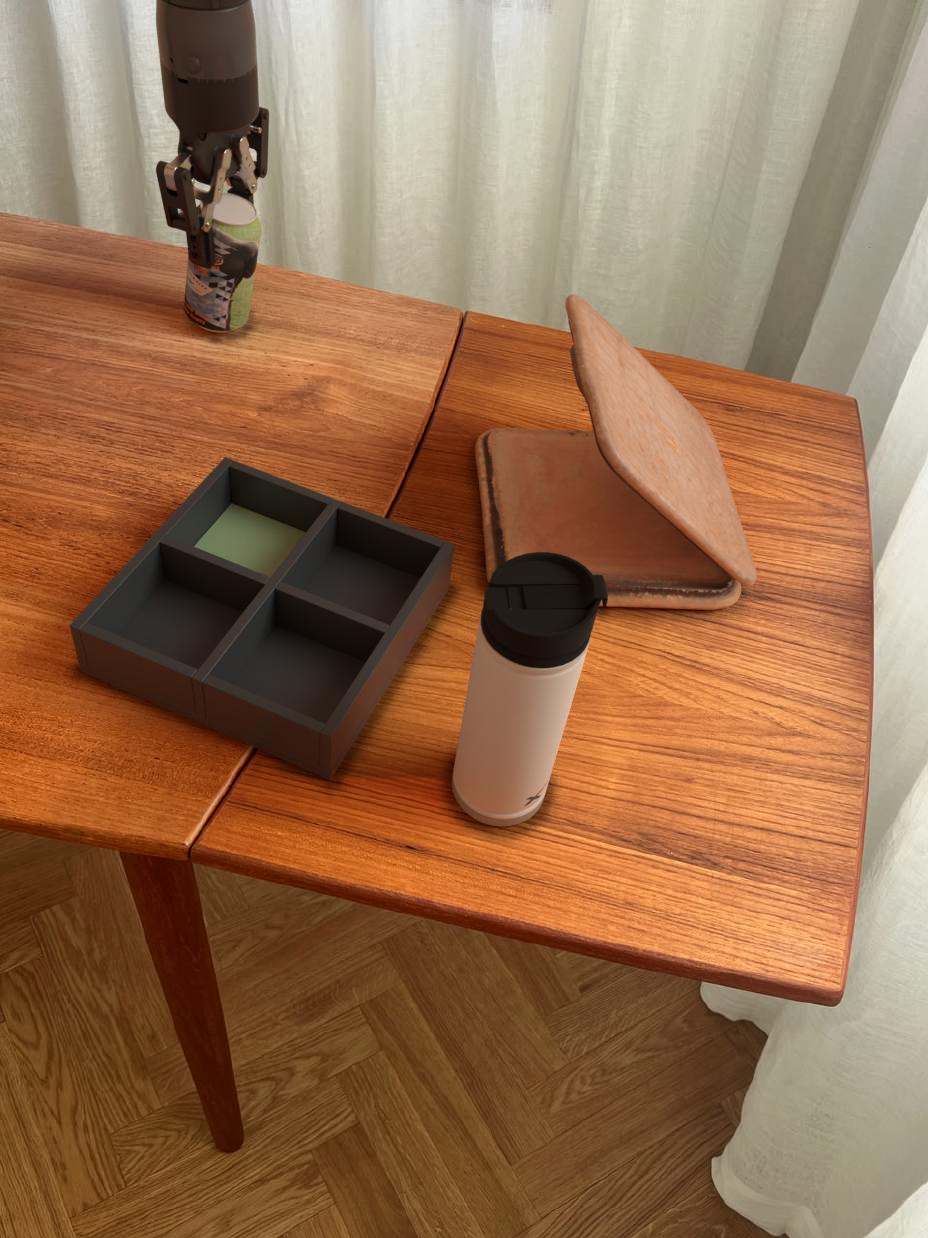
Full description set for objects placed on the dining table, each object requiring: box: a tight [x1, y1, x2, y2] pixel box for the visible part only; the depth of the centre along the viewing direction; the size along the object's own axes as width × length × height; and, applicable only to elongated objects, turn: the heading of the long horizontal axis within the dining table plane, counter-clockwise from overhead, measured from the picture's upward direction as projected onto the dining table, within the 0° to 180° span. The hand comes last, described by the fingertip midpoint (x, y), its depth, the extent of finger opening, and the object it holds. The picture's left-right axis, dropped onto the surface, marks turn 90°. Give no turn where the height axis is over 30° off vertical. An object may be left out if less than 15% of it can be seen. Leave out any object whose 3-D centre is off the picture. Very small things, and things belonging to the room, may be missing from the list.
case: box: [474, 294, 757, 611], centre depth 86 cm, size 20×21×16 cm
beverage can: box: [183, 192, 262, 333], centre depth 101 cm, size 6×7×12 cm
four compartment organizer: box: [69, 456, 456, 781], centre depth 79 cm, size 19×19×5 cm
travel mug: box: [451, 552, 608, 828], centre depth 67 cm, size 6×7×20 cm
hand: (222, 246), depth 100 cm, fingers closed on beverage can, 6 cm apart
